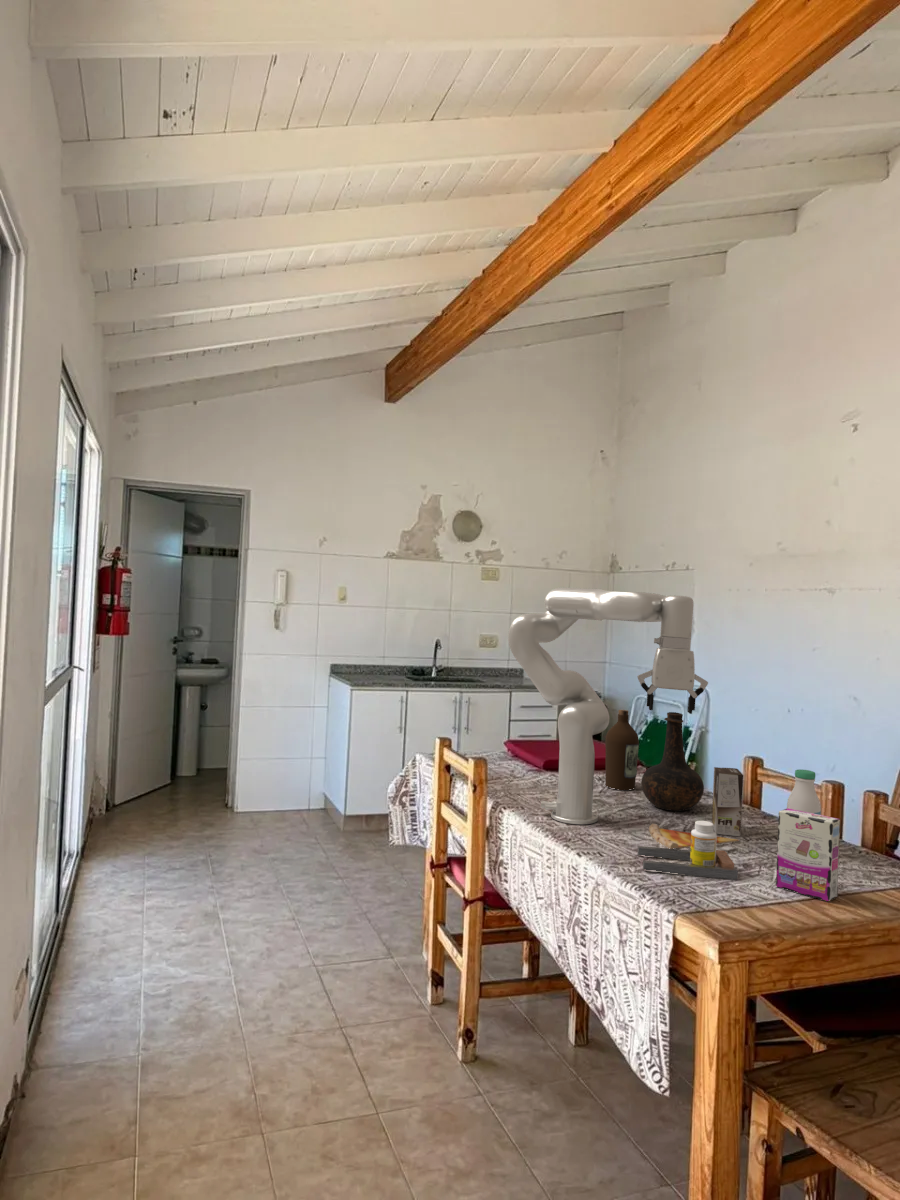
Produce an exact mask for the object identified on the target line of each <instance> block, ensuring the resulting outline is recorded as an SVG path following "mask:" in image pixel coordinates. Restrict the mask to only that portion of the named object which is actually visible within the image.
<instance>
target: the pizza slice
mask: <svg viewBox="0 0 900 1200" xmlns="http://www.w3.org/2000/svg"><path fill="white" fill-rule="evenodd" d="M648 831H649V832H650V833H649V834H651V835H650V837H651V838H652V837H653V838H654V839H655V840H656V841H655V840H654V839H653V838H652V839H653V840H654V841H655V842H656V843H658V842H659V843H658V844H660V843H661V844H662V845H661V844H660V845H661V846H663V845H664V846H663V847H665V846H666V847H668V848H670V849H673V848H677V849H684V848H683V847H686V848H691V832H686V831H679V830H673V829H665V828H660V826H659V825H658V824H656V823H651V824H650V825H649V827H648ZM739 841H740V840H739V839H736V838H729V837H721V836H717V842H716V845H718V844H727V843H735V842H739ZM666 847H665V848H666Z"/></svg>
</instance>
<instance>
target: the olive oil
mask: <svg viewBox="0 0 900 1200" xmlns="http://www.w3.org/2000/svg"><path fill="white" fill-rule="evenodd" d="M639 746H640V740H639V736H638V733H637V732H636V730H635V728H633V726H632V724H630V722H629V710H627V709H619V710H618V714H617V722H616V723H615V724H614V725H613V726H612V727H611V728H610V729H608V731H607V732H606V735H605V746H604V747H605V782H604V783H605V785H606V786H608V787H611V788H615V789H619V790H618V791H622V790H629V789H633V788H636V777H637V776H638V775H637V773H638V770H637V767H638V756H639V755H638V754H639V748H640V747H639ZM606 786H605V787H606ZM629 791H630V790H629Z"/></svg>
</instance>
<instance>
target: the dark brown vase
mask: <svg viewBox="0 0 900 1200" xmlns="http://www.w3.org/2000/svg"><path fill="white" fill-rule="evenodd" d="M683 715H684V714H682V713H680V712H674V711H669V712H667V713H666V716H667V717H665V718H664V719H663V720H664V721H666V729H665V730H666V733H665V743H664V747H663V748H664V750H663V753H662V754H663V755H662V759H661V761H660V763H658V764H655V765H652V766H650V767H648V768H647V769H646V770H645V771H644V772H643V775H642V777H641V780H640V782H641V783H640V784H641V789H642V792H643V794H644V796H645V798H646V799H647V800H648V802H650V803H651V805H653V806H654V807H655V808H658V809H660V810H661V809H662V810H664V809H665V810H664V811H671V810H672V811H673V812H684V811H687V810H689V809H692V808H694V807H696V805H697V804H698V803H699V802H700V801H701V799H702V797H703V795H704V790H705V788H704V785H705V784H704V782H703V778H702V777H701V776H700V774H699V773H698V772H697V771H696V770H694V769H693V768H691V767H690V766H689V765H688V763H687V760H686V757H685V751H684V750H685V749H684V740H683V737H684V736H683V735H684V734H683V723H684V720H683V717H684V716H683ZM672 811H671V812H672Z"/></svg>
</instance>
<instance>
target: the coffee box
mask: <svg viewBox="0 0 900 1200" xmlns="http://www.w3.org/2000/svg"><path fill="white" fill-rule="evenodd" d="M744 776H745V775H744V774H743V773H742V772H741V771H740V770H739V769H738V768H734V767H716V766H714V767H713V785H712V814H711V823H713V831H714V832H715V833H716V835H722V836H723V835H724V836H733V837H741V831H742V829H741V827H742V808H743V790H744Z"/></svg>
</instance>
